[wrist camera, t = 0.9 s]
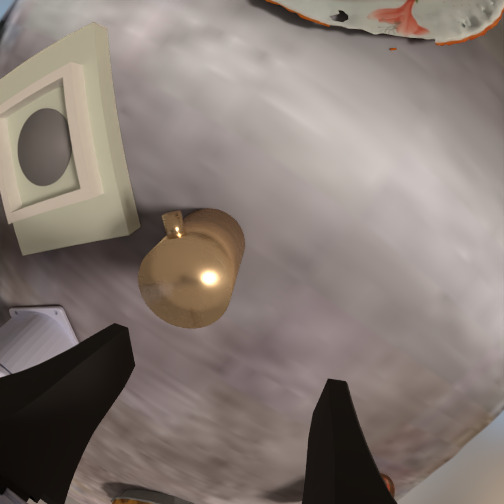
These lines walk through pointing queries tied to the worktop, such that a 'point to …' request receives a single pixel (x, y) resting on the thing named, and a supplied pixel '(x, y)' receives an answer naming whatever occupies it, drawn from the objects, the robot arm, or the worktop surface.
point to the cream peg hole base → (64, 147)
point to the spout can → (193, 268)
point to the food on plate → (406, 16)
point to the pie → (146, 498)
